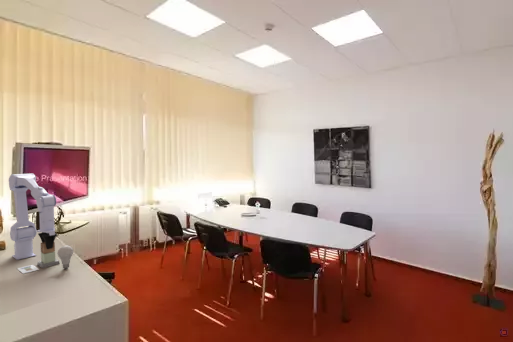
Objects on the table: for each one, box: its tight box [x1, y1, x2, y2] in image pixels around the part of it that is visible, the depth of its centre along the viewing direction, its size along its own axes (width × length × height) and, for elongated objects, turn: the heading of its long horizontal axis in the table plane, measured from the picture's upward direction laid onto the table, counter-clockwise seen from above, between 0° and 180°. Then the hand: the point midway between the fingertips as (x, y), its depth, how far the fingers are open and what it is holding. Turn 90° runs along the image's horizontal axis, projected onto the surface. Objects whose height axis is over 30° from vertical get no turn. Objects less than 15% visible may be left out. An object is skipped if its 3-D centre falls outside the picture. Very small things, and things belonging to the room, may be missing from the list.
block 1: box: [40, 241, 56, 254], centre depth 137 cm, size 4×4×4 cm
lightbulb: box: [57, 245, 74, 270], centre depth 131 cm, size 6×6×11 cm
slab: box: [36, 257, 60, 269], centre depth 138 cm, size 7×7×2 cm
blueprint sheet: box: [16, 264, 40, 275], centre depth 132 cm, size 10×6×1 cm, turn 52°
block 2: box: [40, 250, 56, 264], centre depth 138 cm, size 4×4×4 cm
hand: (47, 247), depth 138 cm, fingers closed on block 1, 4 cm apart
